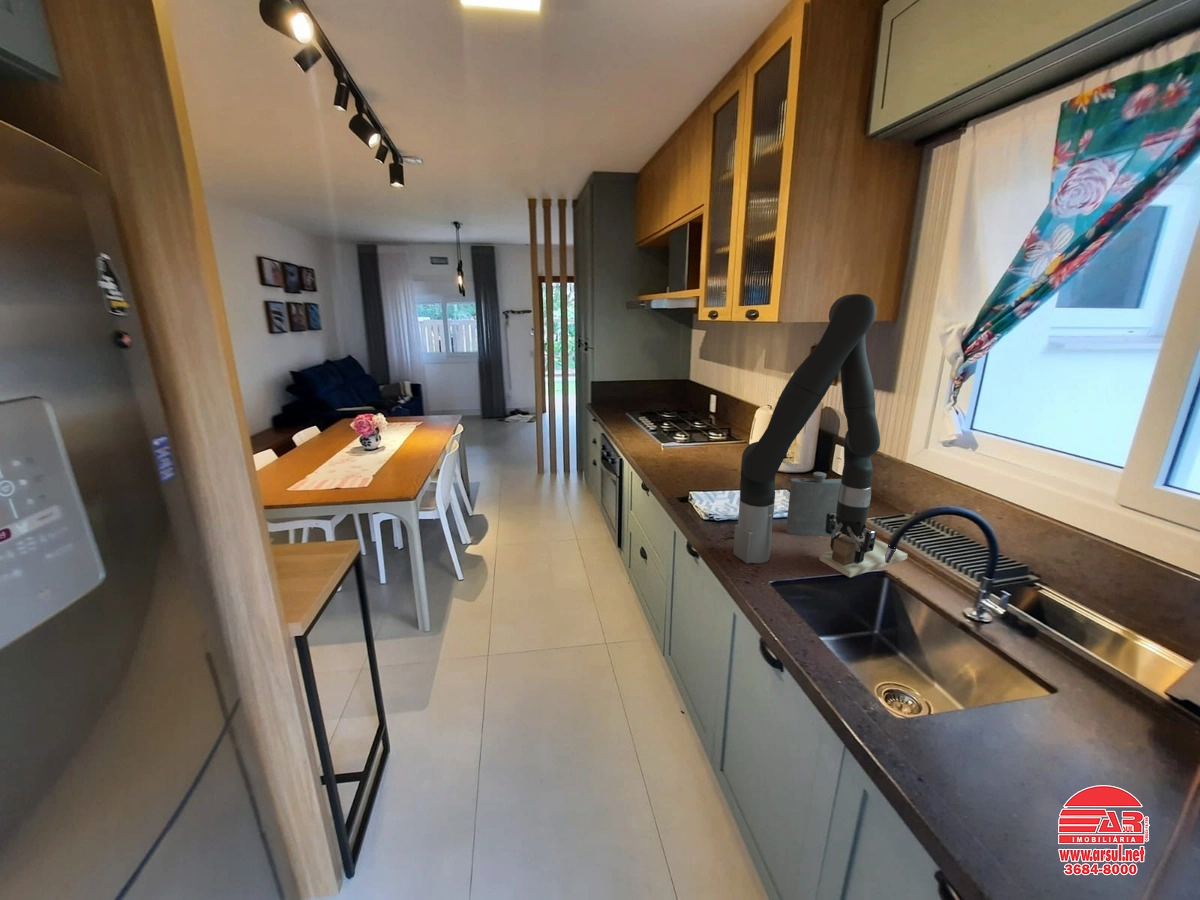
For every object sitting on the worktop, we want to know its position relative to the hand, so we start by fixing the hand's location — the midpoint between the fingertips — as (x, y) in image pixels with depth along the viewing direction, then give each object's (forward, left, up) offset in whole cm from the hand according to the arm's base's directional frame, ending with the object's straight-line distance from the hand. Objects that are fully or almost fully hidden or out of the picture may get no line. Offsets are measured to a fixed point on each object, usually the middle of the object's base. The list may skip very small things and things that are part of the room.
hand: (846, 556), depth 133 cm
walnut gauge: (0, 0, -1) cm, 1 cm away
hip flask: (+7, +18, -3) cm, 20 cm away
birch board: (+7, 0, -3) cm, 8 cm away
